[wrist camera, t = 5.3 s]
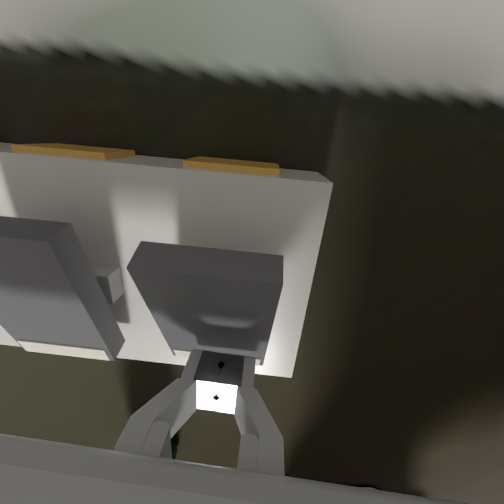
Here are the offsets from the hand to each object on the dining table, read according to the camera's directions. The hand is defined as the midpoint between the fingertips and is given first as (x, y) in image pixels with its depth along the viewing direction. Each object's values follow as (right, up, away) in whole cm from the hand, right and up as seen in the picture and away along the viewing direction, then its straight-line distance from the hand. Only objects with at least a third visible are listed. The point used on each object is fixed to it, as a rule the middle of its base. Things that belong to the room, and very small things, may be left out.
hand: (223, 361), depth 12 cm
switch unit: (-8, +6, +5) cm, 11 cm away
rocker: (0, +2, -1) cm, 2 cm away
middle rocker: (-8, +3, 0) cm, 9 cm away
